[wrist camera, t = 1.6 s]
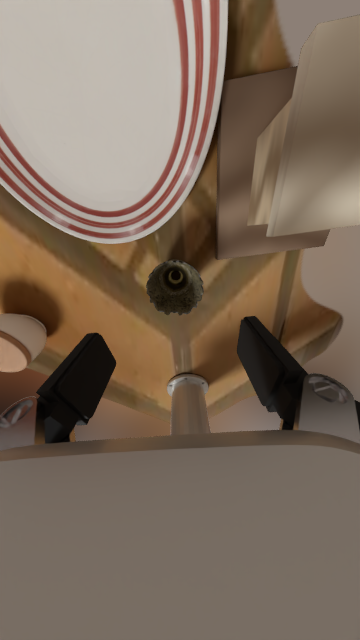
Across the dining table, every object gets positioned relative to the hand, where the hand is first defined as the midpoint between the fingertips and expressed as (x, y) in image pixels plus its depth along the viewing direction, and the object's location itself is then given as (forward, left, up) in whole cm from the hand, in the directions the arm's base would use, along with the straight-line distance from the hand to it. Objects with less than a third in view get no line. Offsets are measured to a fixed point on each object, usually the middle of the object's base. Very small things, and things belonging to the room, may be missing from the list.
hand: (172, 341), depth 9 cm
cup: (0, 0, -18) cm, 18 cm away
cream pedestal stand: (+10, -15, -18) cm, 25 cm away
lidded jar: (-7, +33, -18) cm, 38 cm away
